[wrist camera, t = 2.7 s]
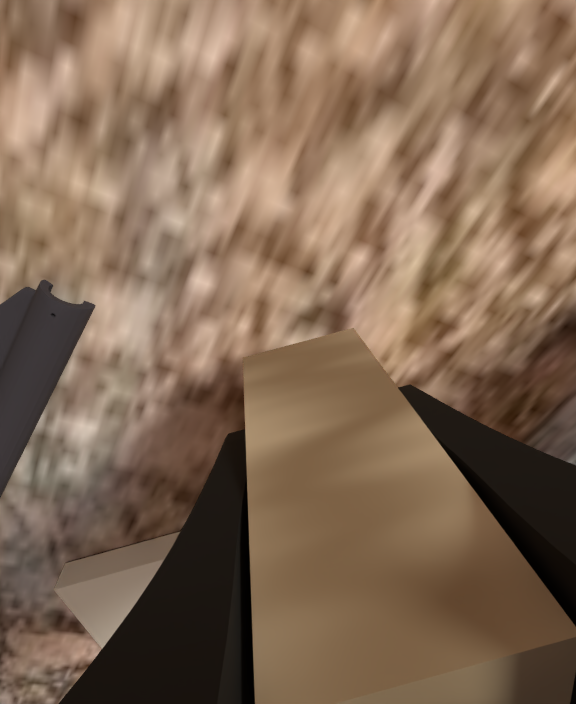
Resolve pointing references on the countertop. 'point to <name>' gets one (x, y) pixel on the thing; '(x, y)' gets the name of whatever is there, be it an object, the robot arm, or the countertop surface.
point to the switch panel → (110, 584)
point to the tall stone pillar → (380, 550)
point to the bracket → (32, 363)
